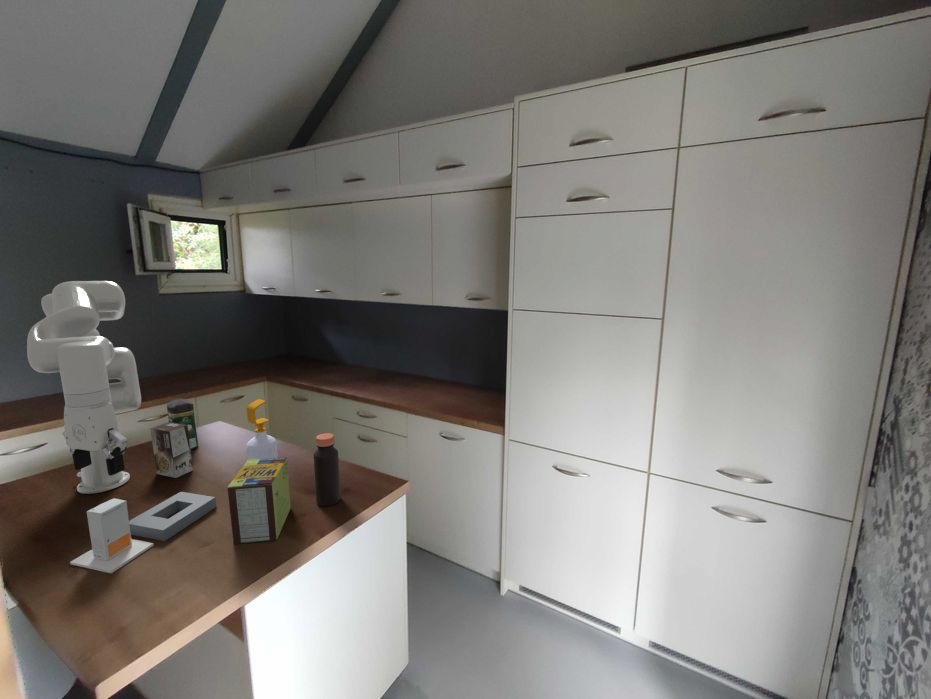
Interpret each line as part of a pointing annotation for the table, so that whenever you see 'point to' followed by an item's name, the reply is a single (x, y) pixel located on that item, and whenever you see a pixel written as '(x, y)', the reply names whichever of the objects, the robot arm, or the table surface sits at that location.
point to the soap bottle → (260, 436)
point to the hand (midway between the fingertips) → (99, 469)
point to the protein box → (259, 500)
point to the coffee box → (171, 449)
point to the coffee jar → (183, 417)
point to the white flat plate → (114, 562)
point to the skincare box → (109, 529)
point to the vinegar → (326, 471)
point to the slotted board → (162, 528)
